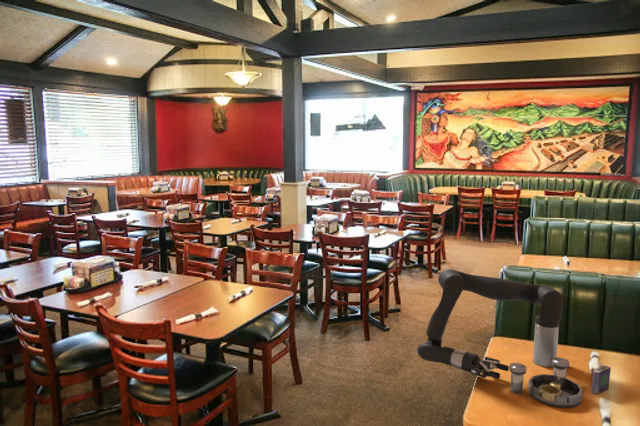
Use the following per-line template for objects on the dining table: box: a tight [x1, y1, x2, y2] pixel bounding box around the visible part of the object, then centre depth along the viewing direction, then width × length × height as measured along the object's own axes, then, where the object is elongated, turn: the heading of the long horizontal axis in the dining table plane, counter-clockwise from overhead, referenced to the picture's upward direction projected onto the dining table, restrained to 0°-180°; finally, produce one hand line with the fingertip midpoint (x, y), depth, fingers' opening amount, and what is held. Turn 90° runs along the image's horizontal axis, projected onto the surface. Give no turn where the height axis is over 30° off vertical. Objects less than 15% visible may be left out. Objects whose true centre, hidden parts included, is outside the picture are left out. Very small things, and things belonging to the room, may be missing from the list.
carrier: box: [527, 356, 584, 409], centre depth 189 cm, size 18×18×12 cm
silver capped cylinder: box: [508, 362, 527, 395], centre depth 193 cm, size 6×6×10 cm
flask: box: [591, 363, 612, 396], centre depth 193 cm, size 9×3×11 cm, turn 121°
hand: (504, 372), depth 196 cm, fingers open, 8 cm apart
